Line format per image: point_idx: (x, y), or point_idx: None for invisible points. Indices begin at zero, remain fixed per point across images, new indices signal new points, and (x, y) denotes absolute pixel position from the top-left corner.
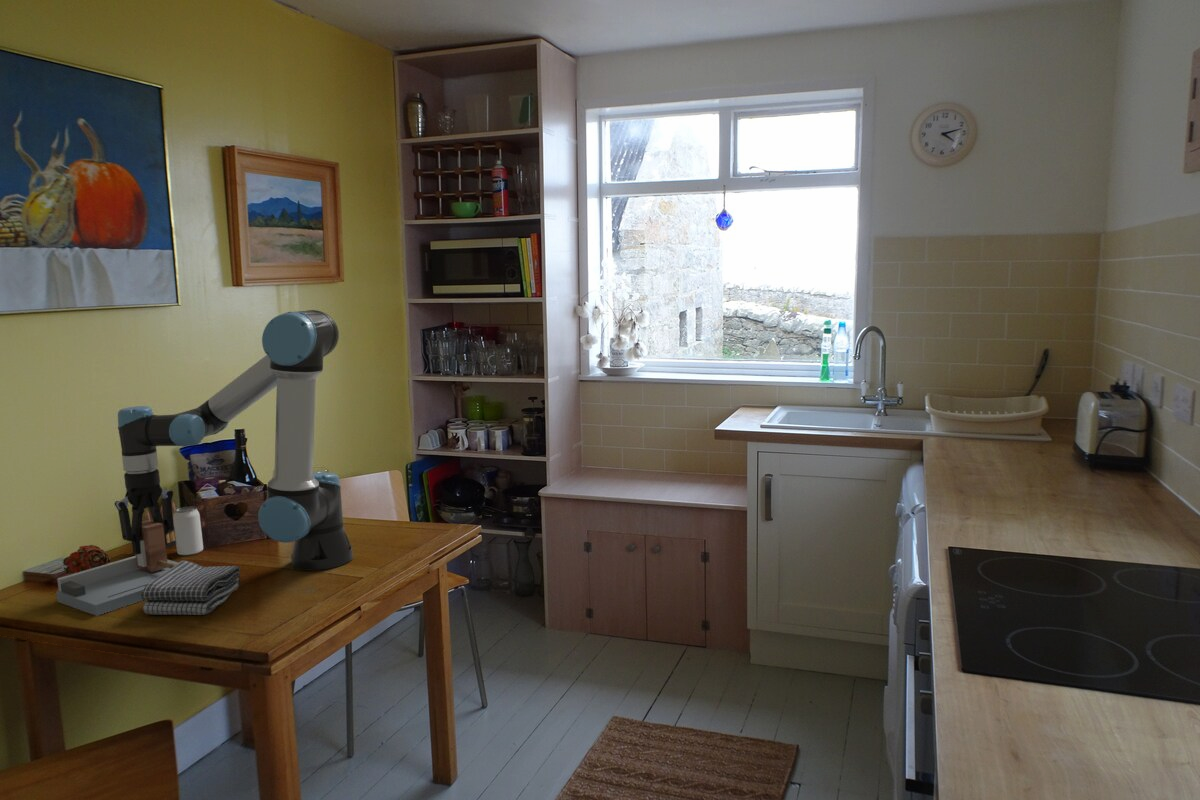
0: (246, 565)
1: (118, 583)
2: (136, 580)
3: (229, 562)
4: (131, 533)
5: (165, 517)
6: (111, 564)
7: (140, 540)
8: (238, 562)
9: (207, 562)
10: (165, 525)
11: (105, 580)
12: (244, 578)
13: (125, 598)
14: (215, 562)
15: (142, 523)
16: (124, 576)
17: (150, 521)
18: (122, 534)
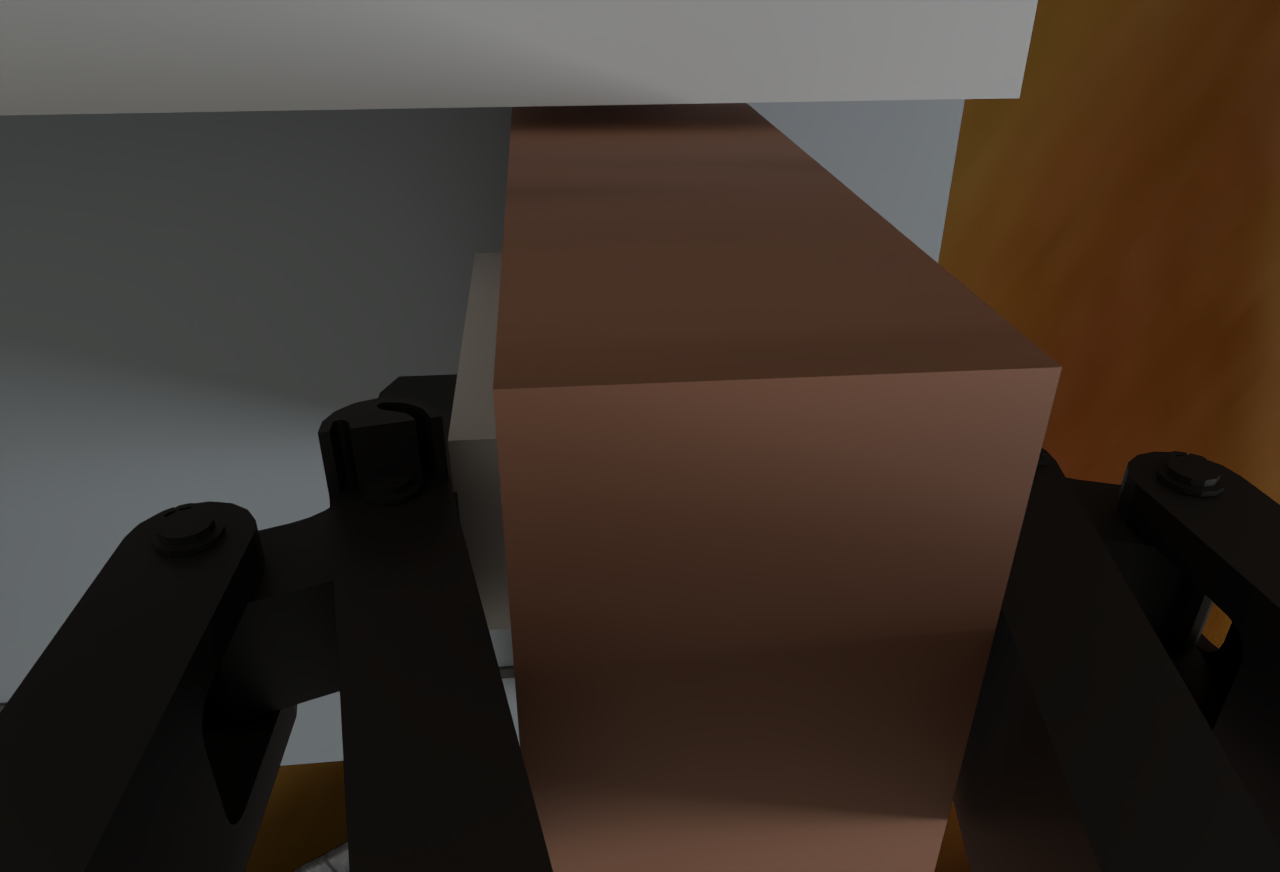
0: (1210, 613)
1: (143, 420)
2: (327, 492)
3: (1259, 427)
4: (252, 802)
5: (1276, 757)
6: (100, 96)
7: (490, 574)
8: (1271, 495)
9: (1225, 228)
10: (1152, 565)
11: (40, 156)
12: (957, 823)
13: None
14: (1238, 306)
15: (742, 568)
16: (285, 226)
17: (986, 556)
18: (86, 617)
